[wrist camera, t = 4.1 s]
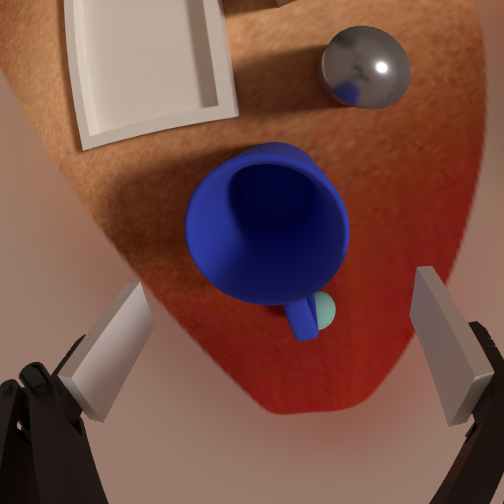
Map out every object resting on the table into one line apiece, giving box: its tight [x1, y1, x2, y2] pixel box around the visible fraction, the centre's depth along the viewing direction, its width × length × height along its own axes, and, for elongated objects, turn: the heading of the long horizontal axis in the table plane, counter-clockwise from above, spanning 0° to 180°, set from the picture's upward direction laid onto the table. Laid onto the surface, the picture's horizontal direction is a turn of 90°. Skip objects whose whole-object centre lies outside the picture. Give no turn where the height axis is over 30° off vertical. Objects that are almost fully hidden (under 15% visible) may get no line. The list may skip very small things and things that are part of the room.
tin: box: [317, 26, 411, 109], centre depth 17 cm, size 5×5×6 cm
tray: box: [64, 0, 240, 151], centre depth 18 cm, size 17×13×2 cm
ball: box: [314, 291, 335, 330], centre depth 27 cm, size 4×4×4 cm
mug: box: [184, 142, 349, 341], centre depth 20 cm, size 8×12×10 cm
